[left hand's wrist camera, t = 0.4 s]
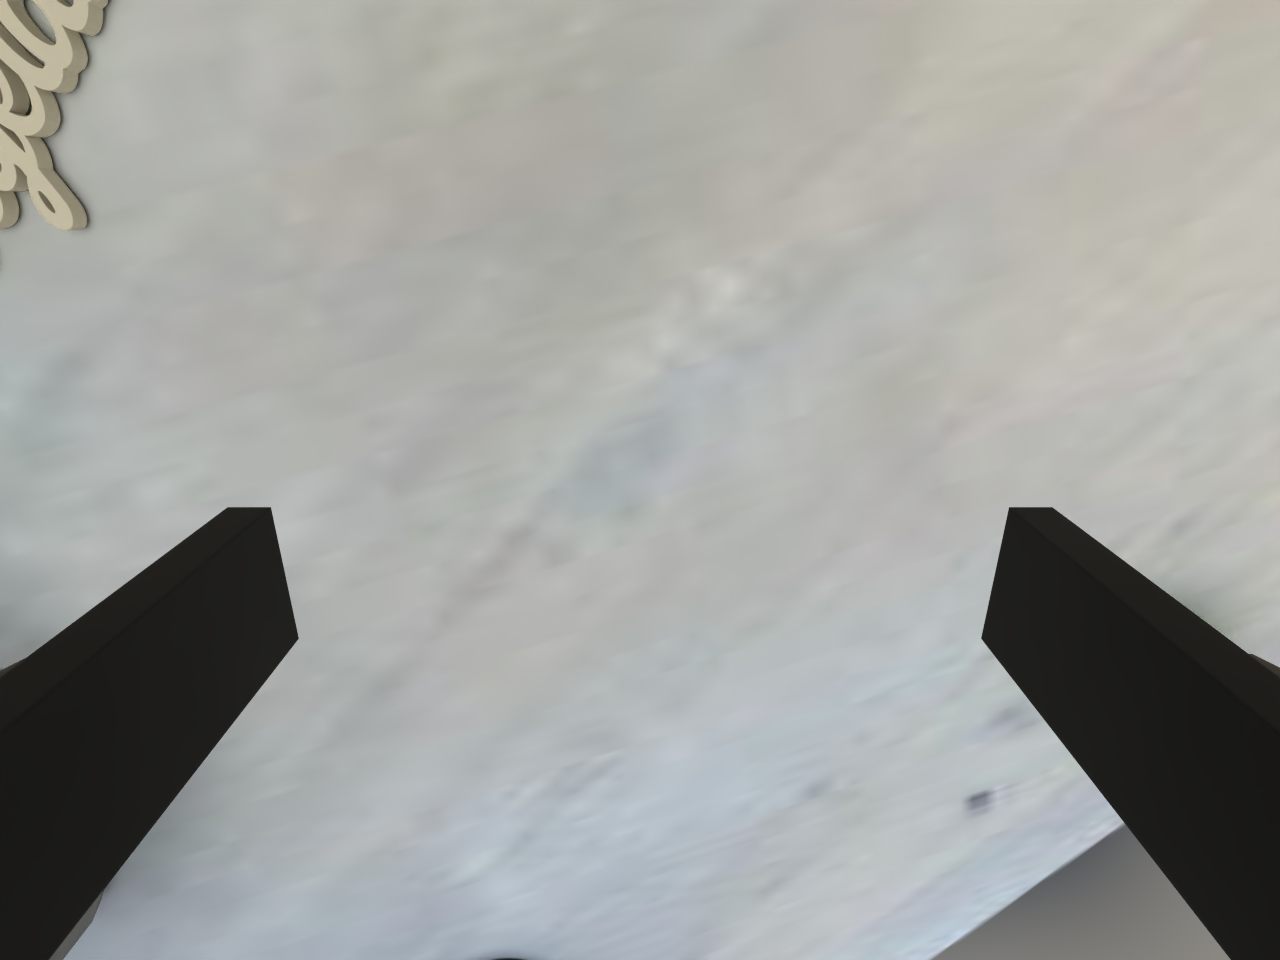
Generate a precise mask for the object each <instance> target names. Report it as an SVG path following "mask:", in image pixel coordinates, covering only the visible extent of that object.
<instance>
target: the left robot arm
mask: <svg viewBox="0 0 1280 960" xmlns="http://www.w3.org/2000/svg"><path fill="white" fill-rule="evenodd" d="M298 639H299V638H298V633H297V628H296V624H295V619H294V614H293V610H292V605H291V600H290V596H289V591H288V586H287V581H286V577H285V572H284V567H283V563H282V558H281V553H280V548H279V544H278V539H277V534H276V530H275V525H274V520H273V516H272V511H271V507H228V508H226V509H225V510H224V511H222V512H221V513H220V514H218V515H217V516H216V517H214V518H213V519H212V520H210V521H209V522H208V523H206V524H205V525H204V526H202V527H201V528H199V529H198V530H197V531H195V532H194V533H193V534H191V535H190V536H189V537H187V538H186V539H185V540H183V541H182V542H181V543H179V544H178V545H177V546H175V547H174V548H173V549H171V550H170V551H169V552H167V553H166V554H165V555H163V556H162V557H161V558H159V559H158V560H157V561H155V562H154V563H153V564H151V565H150V566H149V567H147V568H146V569H145V570H143V571H142V572H141V573H139V574H138V575H137V576H135V577H134V578H133V579H131V580H130V581H129V582H127V583H126V584H125V585H123V586H122V587H121V588H119V589H118V590H116V591H115V592H114V593H112V594H111V595H110V596H108V597H107V598H106V599H104V600H103V601H102V602H100V603H99V604H98V605H96V606H95V607H94V608H92V609H91V610H90V611H88V612H87V613H86V614H84V615H83V616H82V617H80V618H79V619H78V620H76V621H75V622H74V623H72V624H71V625H70V626H68V627H67V628H66V629H64V630H63V631H62V632H60V633H59V634H58V635H56V636H55V637H54V638H52V639H51V640H50V641H48V642H47V643H46V644H44V645H43V646H42V647H40V648H39V649H38V650H36V651H35V652H34V653H32V654H31V655H29V656H28V657H27V658H25V659H23V660H21V661H19V662H17V663H15V664H13V665H11V666H9V667H7V668H5V669H3V670H1V671H0V960H49V959H50V958H51V957H52V955H53V954H54V953H55V951H56V950H57V949H58V948H59V946H60V945H61V944H62V942H63V941H64V940H65V939H66V937H67V936H68V935H69V933H70V932H71V931H72V930H73V928H74V927H75V926H76V924H77V923H78V922H79V921H80V919H81V918H82V917H83V915H84V914H85V913H86V912H87V910H88V909H89V908H90V906H91V905H92V904H93V903H94V901H95V900H96V899H97V897H98V896H99V895H100V894H101V892H102V891H103V890H104V888H105V887H106V886H107V885H108V883H109V882H110V881H111V879H112V878H113V877H114V875H115V874H116V873H117V872H118V870H119V869H120V868H121V866H122V865H123V864H124V863H125V861H126V860H127V859H128V857H129V856H130V855H131V854H132V852H133V851H134V850H135V848H136V847H137V846H138V845H139V843H140V842H141V841H142V839H143V838H144V837H145V836H146V834H147V833H148V832H149V830H150V829H151V828H152V827H153V825H154V824H155V823H156V821H157V820H158V819H159V818H160V816H161V815H162V814H163V812H164V811H165V810H166V809H167V807H168V806H169V805H170V803H171V802H172V801H173V800H174V798H175V797H176V796H177V794H178V793H179V792H180V791H181V789H182V788H183V787H184V785H185V784H186V783H187V782H188V780H189V779H190V778H191V776H192V775H193V774H194V773H195V771H196V770H197V769H198V767H199V766H200V765H201V764H202V762H203V761H204V760H205V758H206V757H207V756H208V755H209V753H210V752H211V751H212V749H213V748H214V747H215V746H216V744H217V743H218V742H219V740H220V739H221V738H222V737H223V735H224V734H225V733H226V731H227V730H228V729H229V728H230V726H231V725H232V724H233V722H234V721H235V720H236V719H237V717H238V716H239V715H240V713H241V712H242V711H243V710H244V708H245V707H246V706H247V704H248V703H249V702H250V701H251V699H252V698H253V697H254V695H255V694H256V693H257V692H258V690H259V689H260V688H261V686H262V685H263V684H264V683H265V681H266V680H267V679H268V677H269V676H270V675H271V674H272V672H273V671H274V670H275V668H276V667H277V666H278V664H279V663H280V662H281V661H282V659H283V658H284V657H285V655H286V654H287V653H288V652H289V650H290V649H291V648H292V646H293V645H294V644H295V643H296V641H297V640H298ZM981 639H982V640H983V641H984V643H985V644H986V645H987V646H988V648H989V649H990V650H991V652H992V653H993V654H994V655H995V657H996V658H997V659H998V661H999V662H1000V663H1001V665H1002V666H1003V667H1004V668H1005V670H1006V671H1007V672H1008V674H1009V675H1010V676H1011V677H1012V679H1013V680H1014V681H1015V683H1016V684H1017V685H1018V686H1019V688H1020V689H1021V690H1022V692H1023V693H1024V694H1025V695H1026V697H1027V698H1028V699H1029V701H1030V702H1031V703H1032V704H1033V706H1034V707H1035V708H1036V710H1037V711H1038V712H1039V713H1040V715H1041V716H1042V717H1043V719H1044V720H1045V721H1046V722H1047V724H1048V725H1049V726H1050V728H1051V729H1052V730H1053V731H1054V733H1055V734H1056V735H1057V737H1058V738H1059V739H1060V740H1061V742H1062V743H1063V744H1064V746H1065V747H1066V748H1067V749H1068V751H1069V752H1070V753H1071V755H1072V756H1073V757H1074V758H1075V760H1076V761H1077V762H1078V764H1079V765H1080V766H1081V767H1082V769H1083V770H1084V771H1085V773H1086V774H1087V775H1088V776H1089V778H1090V779H1091V780H1092V782H1093V783H1094V784H1095V785H1096V787H1097V788H1098V789H1099V791H1100V792H1101V793H1102V794H1103V796H1104V797H1105V798H1106V800H1107V801H1108V802H1109V803H1110V805H1111V806H1112V807H1113V809H1114V810H1115V811H1116V812H1117V814H1118V815H1119V816H1120V818H1121V819H1122V820H1123V821H1124V823H1125V824H1126V825H1127V827H1128V828H1129V829H1130V830H1131V832H1132V833H1133V834H1134V836H1135V837H1136V838H1137V839H1138V841H1139V842H1140V843H1141V845H1142V846H1143V847H1144V848H1145V850H1146V851H1147V852H1148V854H1149V855H1150V856H1151V857H1152V859H1153V860H1154V861H1155V863H1156V864H1157V865H1158V866H1159V868H1160V869H1161V870H1162V872H1163V873H1164V874H1165V875H1166V877H1167V878H1168V879H1169V881H1170V882H1171V883H1172V884H1173V886H1174V887H1175V888H1176V890H1177V891H1178V892H1179V893H1180V895H1181V896H1182V897H1183V899H1184V900H1185V901H1186V903H1187V904H1188V905H1189V906H1190V908H1191V909H1192V910H1193V911H1194V913H1195V914H1196V915H1197V917H1198V918H1199V919H1200V921H1201V922H1202V923H1203V924H1204V926H1205V927H1206V928H1207V929H1208V931H1209V932H1210V933H1211V935H1212V936H1213V937H1214V939H1215V940H1216V941H1217V942H1218V944H1219V945H1220V946H1221V947H1222V949H1223V950H1224V951H1225V953H1226V954H1227V955H1228V957H1229V958H1230V959H1231V960H1280V668H1279V667H1277V666H1275V665H1273V664H1271V663H1269V662H1267V661H1265V660H1263V659H1261V658H1259V657H1257V656H1255V655H1253V654H1248V653H1246V652H1245V651H1244V650H1242V649H1241V648H1240V647H1238V646H1237V645H1236V644H1234V643H1233V642H1232V641H1230V640H1229V639H1228V638H1226V637H1225V636H1224V635H1222V634H1221V633H1220V632H1218V631H1217V630H1216V629H1214V628H1213V627H1212V626H1210V625H1209V624H1208V623H1206V622H1205V621H1204V620H1202V619H1201V618H1200V617H1198V616H1197V615H1196V614H1194V613H1193V612H1192V611H1190V610H1189V609H1188V608H1186V607H1185V606H1184V605H1182V604H1181V603H1180V602H1178V601H1177V600H1176V599H1174V598H1173V597H1172V596H1170V595H1169V594H1168V593H1166V592H1165V591H1163V590H1162V589H1161V588H1159V587H1158V586H1157V585H1155V584H1154V583H1153V582H1151V581H1150V580H1149V579H1147V578H1146V577H1145V576H1143V575H1142V574H1141V573H1139V572H1138V571H1137V570H1135V569H1134V568H1133V567H1131V566H1130V565H1129V564H1127V563H1126V562H1125V561H1123V560H1122V559H1121V558H1119V557H1118V556H1117V555H1115V554H1114V553H1113V552H1111V551H1110V550H1109V549H1107V548H1106V547H1105V546H1103V545H1102V544H1101V543H1099V542H1098V541H1097V540H1095V539H1094V538H1093V537H1091V536H1090V535H1089V534H1087V533H1086V532H1085V531H1083V530H1082V529H1081V528H1079V527H1078V526H1076V525H1075V524H1074V523H1072V522H1071V521H1070V520H1068V519H1067V518H1066V517H1064V516H1063V515H1062V514H1060V513H1059V512H1058V511H1056V510H1055V509H1054V508H1052V507H1009V511H1008V516H1007V520H1006V525H1005V530H1004V534H1003V539H1002V544H1001V548H1000V553H999V558H998V563H997V567H996V572H995V577H994V581H993V586H992V591H991V596H990V600H989V605H988V610H987V614H986V619H985V624H984V628H983V633H982V638H981Z"/></svg>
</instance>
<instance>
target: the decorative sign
mask: <svg viewBox="0 0 1280 960" xmlns="http://www.w3.org/2000/svg"><path fill="white" fill-rule="evenodd" d="M73 1H74V3H73V5H72V6H71V5H70V4H69V3H67V2H66V1H65V0H33V2H34V3H35V4H36V5H37V6H38V7H39V8H40V9H41V10H42V12H43V13H44V14H45V16H46V17H47V19H48V20H49V22H50V24H51V26H52V28H53V30H54V33H55V37H56V44H54V43H53V42H52V41H50V40H49V39H48V38H47V37H46V36H45V35H44V34H43V33H42V32H41V31H40V30H39V28H38V27H37V26H36V25H35V24H34V22H33V21H32V20H31V18H30V17H29V15H28V14H27V12H26V10H25V7H24V3H23V0H0V21H1V22H2V24H3V25H4V26H5V27H6V28H7V30H8V31H9V32H10V33H11V34H12V35H13V36H14V37H15V38H16V39H17V40H18V41H19V42H20V43H21V44H22V45H23V46H24V47H25V48H27V49H28V50H29V51H30V52H31V53H32V54H34V55H35V56H36V57H38V58H39V59H40V60H42V61H43V62H45V66H43V65H42V64H40V63H39V62H38V61H37V60H35V59H34V58H33V57H32V56H31V55H30V54H29V53H28V52H27V51H26V50H25V49H24V48H23V47H22V46H21V45H20V44H19V43H18V42H17V41H16V40H15V39H14V37H13V36H12V35H11V34H10V33H9V32H8V31H7V30H6V29H5V28H4V27H3V26H2V25H1V24H0V163H1V166H0V229H5V228H9V227H11V226H12V225H14V224H15V223H16V221H17V219H18V216H19V206H18V202H17V199H16V196H15V194H14V192H13V191H26V190H28V189H29V193H30V196H31V198H32V201H33V203H34V205H35V207H36V208H37V210H38V211H39V213H40V214H41V216H42V217H43V218H44V219H45V220H46V221H47V222H48V223H50V224H51V225H52V226H54V227H56V228H58V229H61V230H80V229H84V228H85V227H86V225H87V216H86V213H85V211H84V209H83V207H82V205H81V204H80V202H79V201H78V200H77V198H76V197H75V196H74V195H73V193H72V192H71V191H70V190H69V188H68V187H67V186H66V185H65V183H64V182H63V181H62V180H61V178H60V177H59V176H58V175H57V174H56V172H55V171H54V170H53V164H52V159H51V156H50V153H49V151H48V149H47V147H46V145H45V144H44V142H43V141H42V139H41V138H40V137H42V138H45V137H49V136H51V135H52V134H54V133H55V132H56V131H57V129H58V128H59V125H60V111H59V107H58V104H57V102H56V99H55V97H54V95H53V94H52V92H57V93H63V94H67V93H70V92H72V91H73V90H74V89H75V87H76V85H77V82H78V74H79V73H80V72H81V71H82V70H84V69H85V67H86V65H87V62H88V55H87V51H86V48H85V45H84V43H83V41H82V39H81V37H80V35H79V32H80V33H83V34H86V35H90V36H94V35H96V34H98V33H99V31H100V30H101V27H102V23H103V8H104V7H105V6H106V5H107V3H108V0H73ZM21 79H22V80H21ZM22 81H23V82H22ZM23 83H24V84H23ZM24 85H25V86H24ZM25 87H26V88H25ZM26 89H27V91H28V93H27V91H26ZM51 91H52V92H51ZM28 94H29V97H30V100H31V104H32V111H31V113H30V115H29V116H28V115H26V112H27V111H28V109H29V97H28Z"/></svg>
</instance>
